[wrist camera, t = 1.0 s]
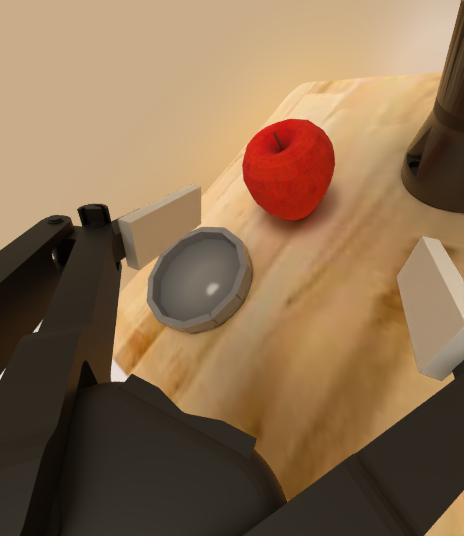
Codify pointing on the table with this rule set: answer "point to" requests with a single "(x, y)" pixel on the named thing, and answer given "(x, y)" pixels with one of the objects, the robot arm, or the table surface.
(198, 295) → the dish
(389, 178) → the table surface
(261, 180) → the apple
